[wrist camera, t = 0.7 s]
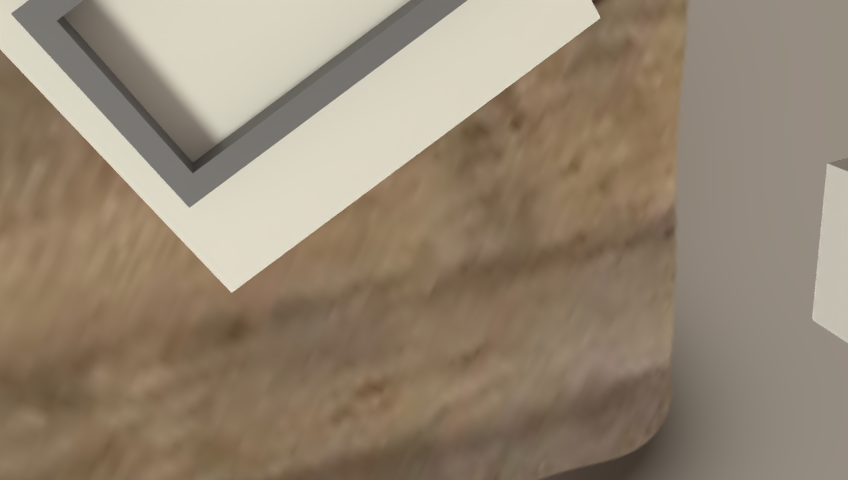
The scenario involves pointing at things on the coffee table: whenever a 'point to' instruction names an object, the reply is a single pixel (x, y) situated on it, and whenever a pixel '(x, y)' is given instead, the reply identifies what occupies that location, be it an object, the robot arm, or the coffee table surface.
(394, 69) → the mounting board
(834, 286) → the robot arm
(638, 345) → the coffee table surface
